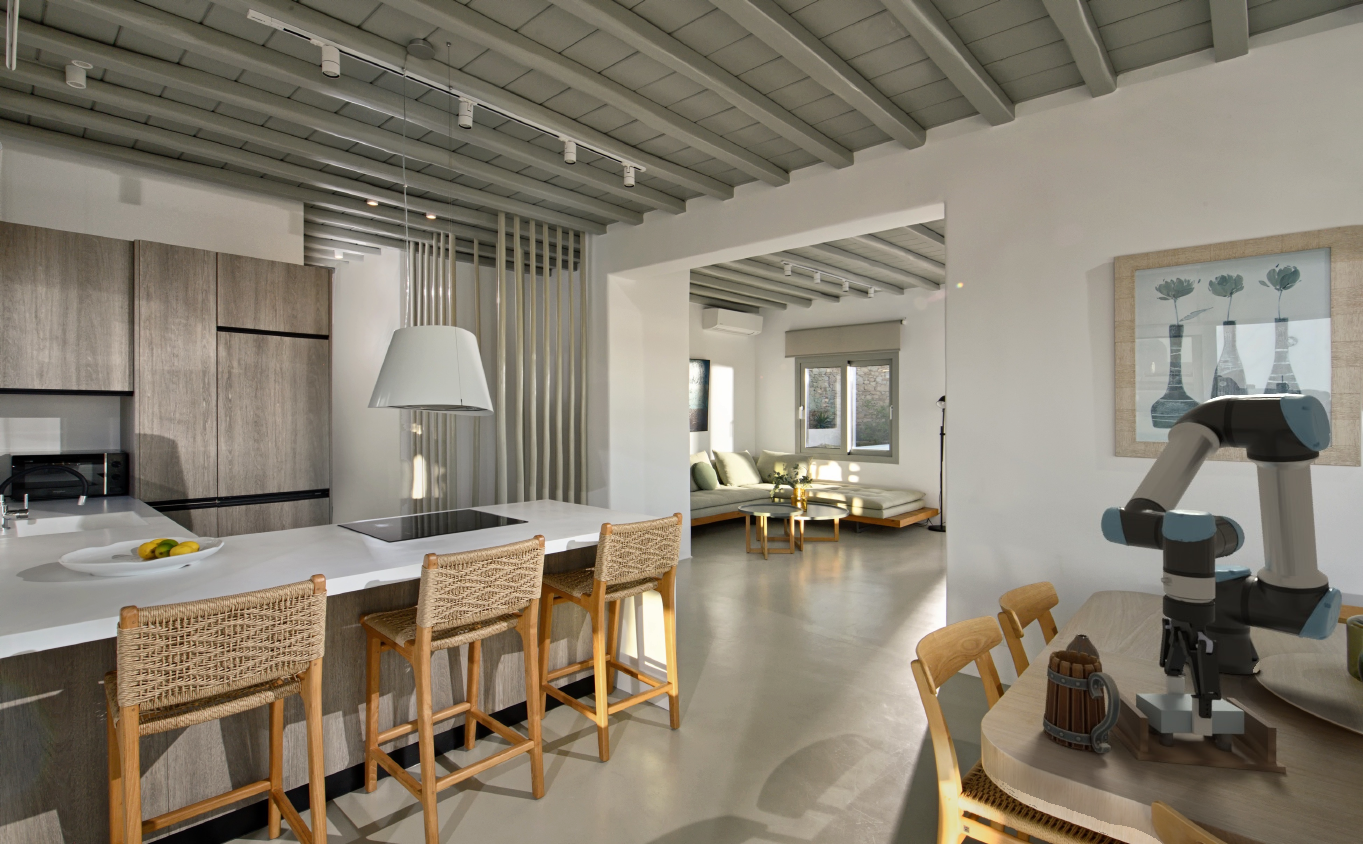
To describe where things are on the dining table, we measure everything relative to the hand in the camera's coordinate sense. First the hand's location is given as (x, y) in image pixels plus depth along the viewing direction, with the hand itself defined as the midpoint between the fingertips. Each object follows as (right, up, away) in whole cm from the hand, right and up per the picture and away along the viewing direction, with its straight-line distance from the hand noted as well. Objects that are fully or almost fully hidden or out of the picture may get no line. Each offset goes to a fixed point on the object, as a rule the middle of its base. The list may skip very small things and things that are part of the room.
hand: (1188, 722), depth 120 cm
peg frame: (0, -4, 0) cm, 4 cm away
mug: (-18, -5, +1) cm, 19 cm away
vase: (+1, -4, +34) cm, 34 cm away
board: (0, 0, 0) cm, 0 cm away
